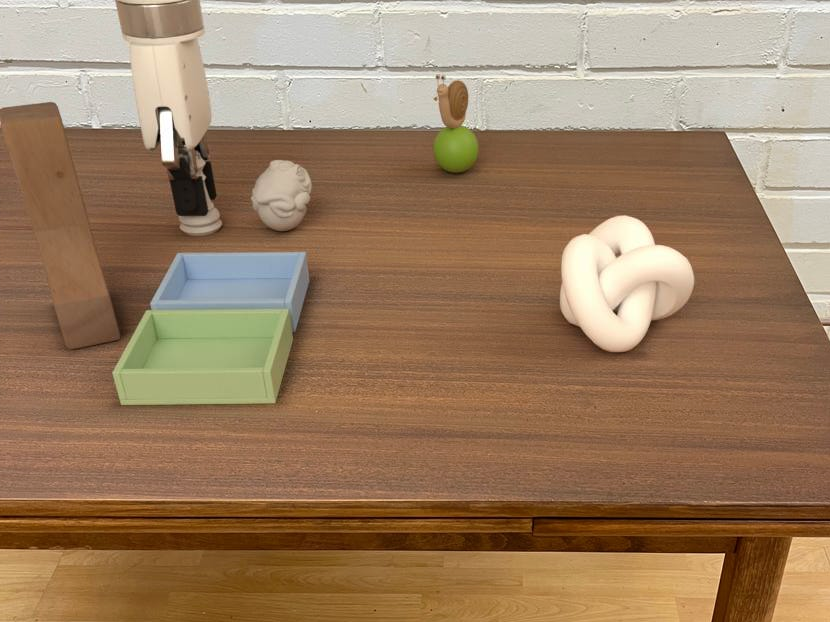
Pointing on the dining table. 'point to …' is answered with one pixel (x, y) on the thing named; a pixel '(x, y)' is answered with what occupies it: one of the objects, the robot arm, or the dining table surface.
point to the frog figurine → (282, 195)
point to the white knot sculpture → (621, 282)
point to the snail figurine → (454, 129)
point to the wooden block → (59, 223)
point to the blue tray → (235, 282)
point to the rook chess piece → (201, 223)
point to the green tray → (205, 357)
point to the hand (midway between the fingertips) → (197, 205)
